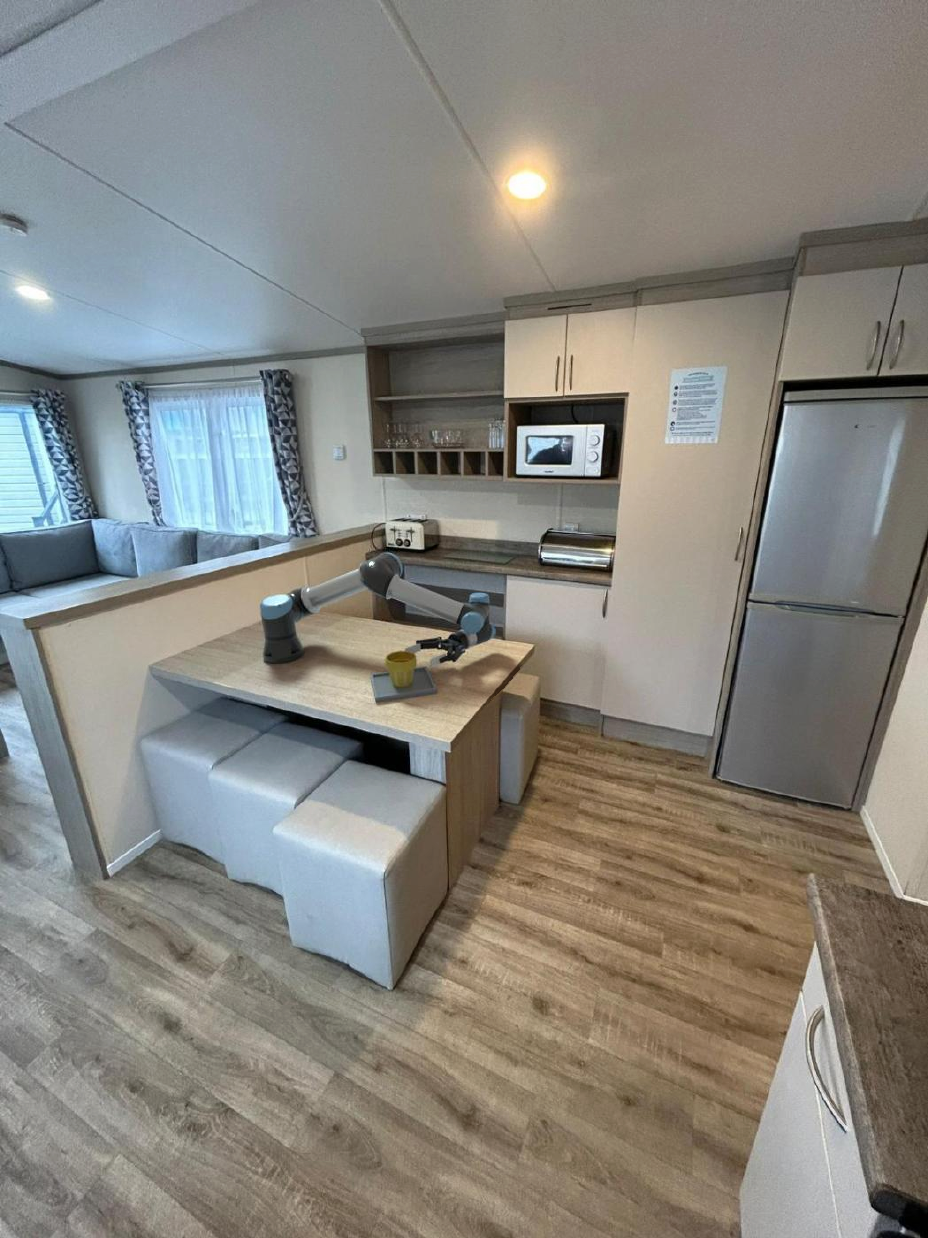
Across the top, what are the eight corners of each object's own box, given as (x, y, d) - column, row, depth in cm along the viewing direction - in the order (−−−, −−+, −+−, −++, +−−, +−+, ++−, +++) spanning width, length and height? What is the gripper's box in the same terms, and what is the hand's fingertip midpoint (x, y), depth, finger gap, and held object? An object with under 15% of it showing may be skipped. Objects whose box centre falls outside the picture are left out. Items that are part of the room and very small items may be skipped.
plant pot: (422, 678, 167) (421, 652, 163) (409, 692, 157) (408, 664, 154) (395, 674, 170) (393, 649, 167) (381, 687, 161) (379, 660, 158)
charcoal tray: (375, 702, 153) (375, 697, 153) (370, 678, 170) (370, 673, 169) (437, 693, 158) (436, 688, 158) (426, 671, 175) (426, 666, 174)
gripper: (486, 658, 172) (443, 678, 158) (439, 641, 189) (396, 657, 175) (486, 639, 170) (442, 657, 156) (439, 623, 187) (395, 638, 173)
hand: (418, 657), depth 165 cm, fingers open, 13 cm apart
